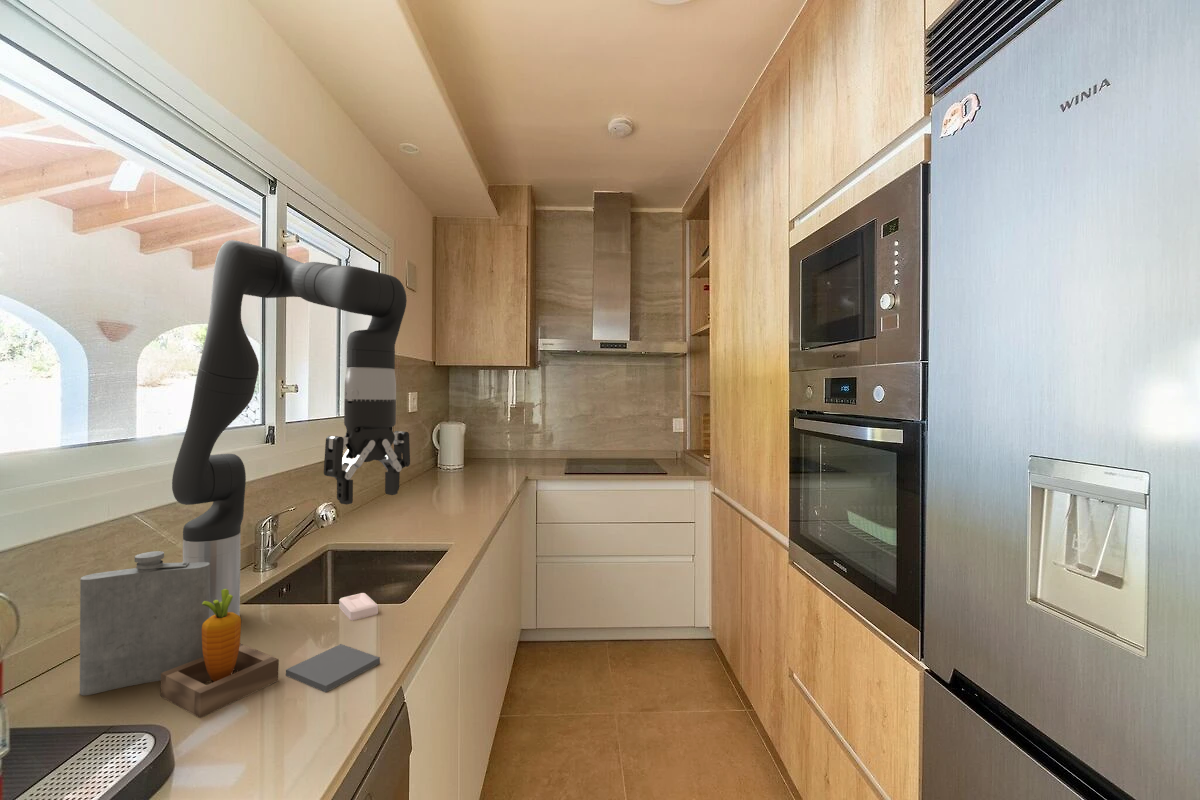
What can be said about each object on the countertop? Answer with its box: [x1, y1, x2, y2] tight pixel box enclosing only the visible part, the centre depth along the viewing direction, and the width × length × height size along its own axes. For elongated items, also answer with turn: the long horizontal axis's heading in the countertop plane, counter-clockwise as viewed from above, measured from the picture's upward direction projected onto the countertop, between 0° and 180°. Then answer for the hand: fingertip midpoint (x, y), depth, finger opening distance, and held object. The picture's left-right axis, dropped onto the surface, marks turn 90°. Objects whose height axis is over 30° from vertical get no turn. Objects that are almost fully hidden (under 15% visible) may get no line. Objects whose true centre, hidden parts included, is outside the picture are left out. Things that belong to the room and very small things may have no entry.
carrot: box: [202, 589, 242, 683], centre depth 81 cm, size 5×5×15 cm
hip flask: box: [79, 550, 210, 696], centre depth 84 cm, size 16×4×20 cm, turn 117°
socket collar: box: [160, 643, 279, 719], centre depth 81 cm, size 11×11×4 cm
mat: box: [285, 643, 381, 693], centre depth 88 cm, size 10×10×1 cm
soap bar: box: [338, 592, 379, 621], centre depth 111 cm, size 5×9×2 cm, turn 41°
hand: (369, 498), depth 84 cm, fingers open, 8 cm apart
